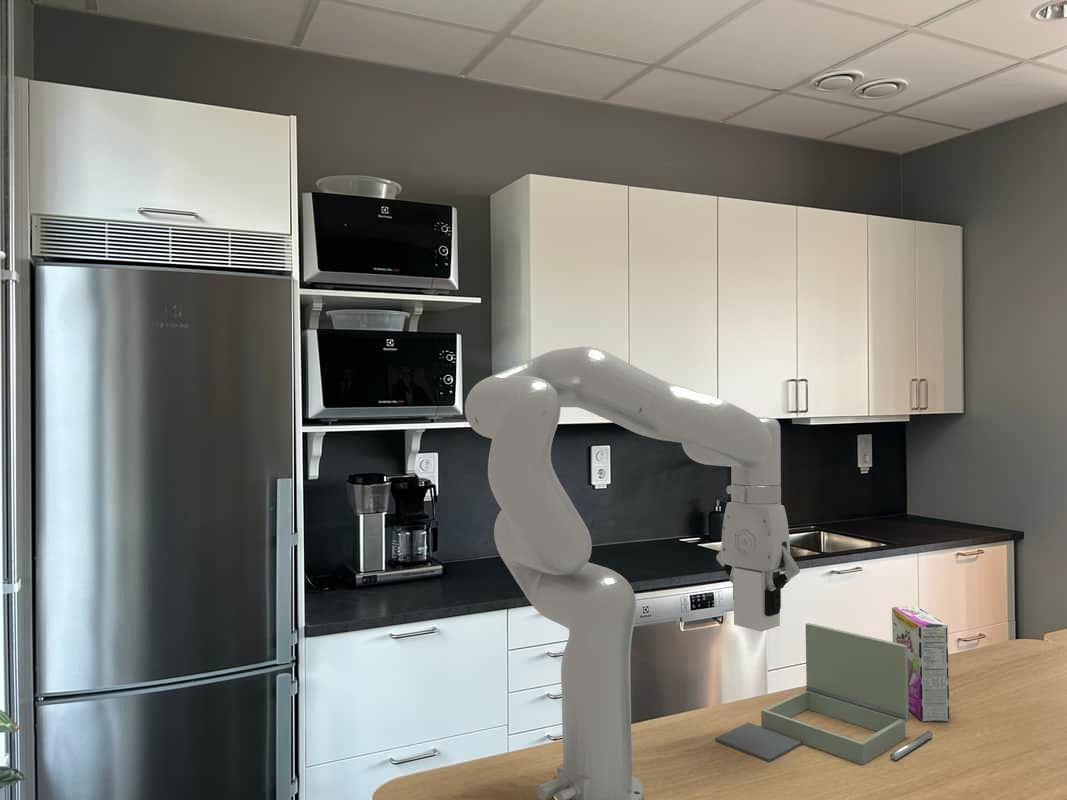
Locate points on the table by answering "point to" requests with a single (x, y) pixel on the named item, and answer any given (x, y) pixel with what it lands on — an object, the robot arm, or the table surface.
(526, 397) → the robot arm
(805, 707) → the case
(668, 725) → the table surface
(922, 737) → the rod
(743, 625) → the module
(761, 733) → the mat
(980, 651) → the table surface
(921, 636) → the candy bar box
